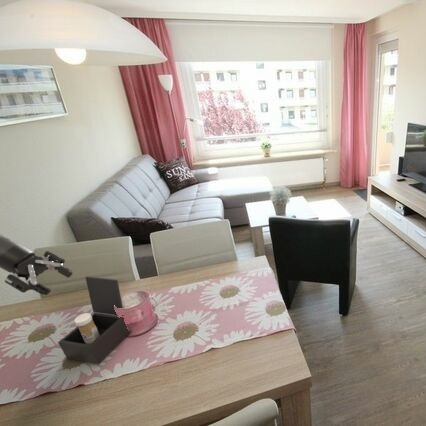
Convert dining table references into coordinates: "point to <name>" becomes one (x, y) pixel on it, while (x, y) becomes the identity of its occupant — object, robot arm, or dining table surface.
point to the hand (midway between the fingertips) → (60, 283)
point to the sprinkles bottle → (87, 328)
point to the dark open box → (109, 338)
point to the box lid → (104, 294)
